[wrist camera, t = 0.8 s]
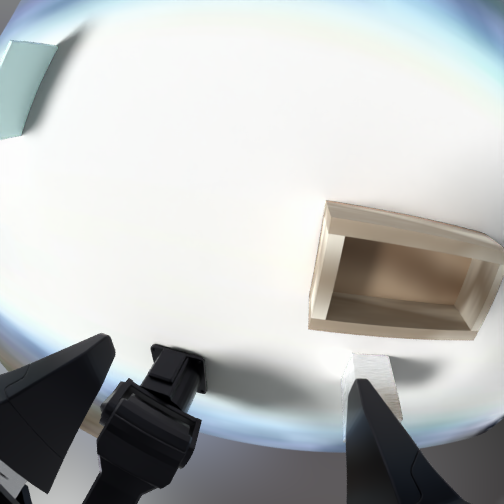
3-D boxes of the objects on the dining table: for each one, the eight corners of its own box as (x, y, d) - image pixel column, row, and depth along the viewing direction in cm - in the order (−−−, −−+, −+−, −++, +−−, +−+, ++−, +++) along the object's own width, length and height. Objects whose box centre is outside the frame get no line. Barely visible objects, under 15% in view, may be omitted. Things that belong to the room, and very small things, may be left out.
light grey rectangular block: (374, 380, 25) (383, 441, 18) (341, 379, 25) (343, 442, 18) (388, 355, 23) (402, 419, 16) (352, 353, 24) (359, 420, 17)
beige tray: (455, 311, 20) (473, 340, 16) (309, 295, 22) (308, 329, 18) (483, 233, 17) (511, 253, 13) (325, 200, 19) (331, 217, 15)
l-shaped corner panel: (61, 47, 17) (12, 41, 10) (24, 135, 22) (-22, 144, 15) (30, 29, 16) (-9, 25, 9) (-1, 101, 21) (-38, 107, 14)
